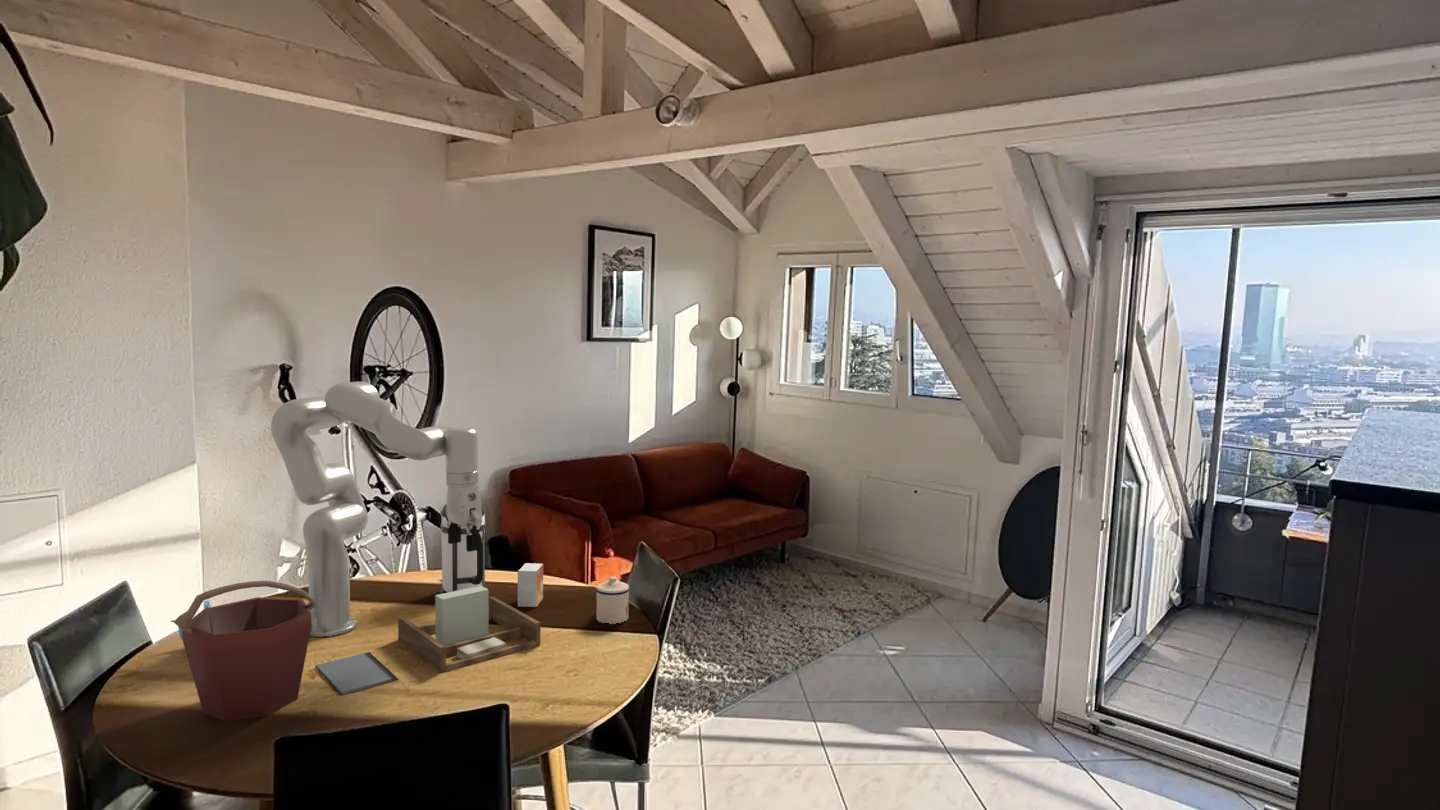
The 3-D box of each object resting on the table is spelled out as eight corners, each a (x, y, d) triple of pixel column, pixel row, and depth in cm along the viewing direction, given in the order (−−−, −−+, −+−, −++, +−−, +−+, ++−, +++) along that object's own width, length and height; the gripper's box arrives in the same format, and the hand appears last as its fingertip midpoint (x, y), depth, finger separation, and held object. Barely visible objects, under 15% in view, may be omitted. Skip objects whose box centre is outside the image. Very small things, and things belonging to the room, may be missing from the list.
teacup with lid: (634, 621, 218) (635, 579, 216) (602, 627, 213) (603, 584, 212) (617, 608, 228) (617, 568, 227) (586, 612, 223) (587, 572, 222)
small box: (536, 607, 227) (537, 571, 226) (517, 607, 227) (517, 570, 226) (543, 598, 235) (543, 563, 234) (524, 597, 235) (524, 562, 234)
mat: (341, 695, 170) (341, 692, 170) (315, 667, 183) (315, 665, 183) (425, 672, 182) (425, 669, 182) (395, 648, 196) (395, 645, 196)
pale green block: (442, 651, 194) (442, 599, 193) (435, 646, 197) (435, 595, 196) (488, 639, 203) (488, 589, 201) (481, 635, 205) (481, 585, 204)
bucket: (169, 736, 152) (164, 607, 149) (192, 687, 172) (188, 574, 170) (314, 714, 162) (311, 593, 159) (320, 671, 182) (318, 563, 179)
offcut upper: (468, 662, 185) (468, 654, 185) (456, 656, 189) (456, 648, 188) (505, 650, 193) (505, 642, 192) (494, 645, 196) (494, 637, 196)
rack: (440, 678, 180) (440, 647, 179) (398, 644, 198) (398, 617, 197) (540, 650, 197) (540, 622, 196) (493, 621, 215) (493, 596, 214)
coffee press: (425, 600, 230) (424, 497, 227) (452, 583, 246) (452, 487, 243) (481, 605, 227) (481, 501, 224) (505, 588, 243) (506, 490, 240)
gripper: (493, 481, 193) (494, 550, 195) (460, 472, 206) (461, 537, 207) (464, 485, 188) (465, 556, 190) (432, 475, 201) (433, 542, 202)
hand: (463, 546), depth 198 cm, fingers open, 9 cm apart
